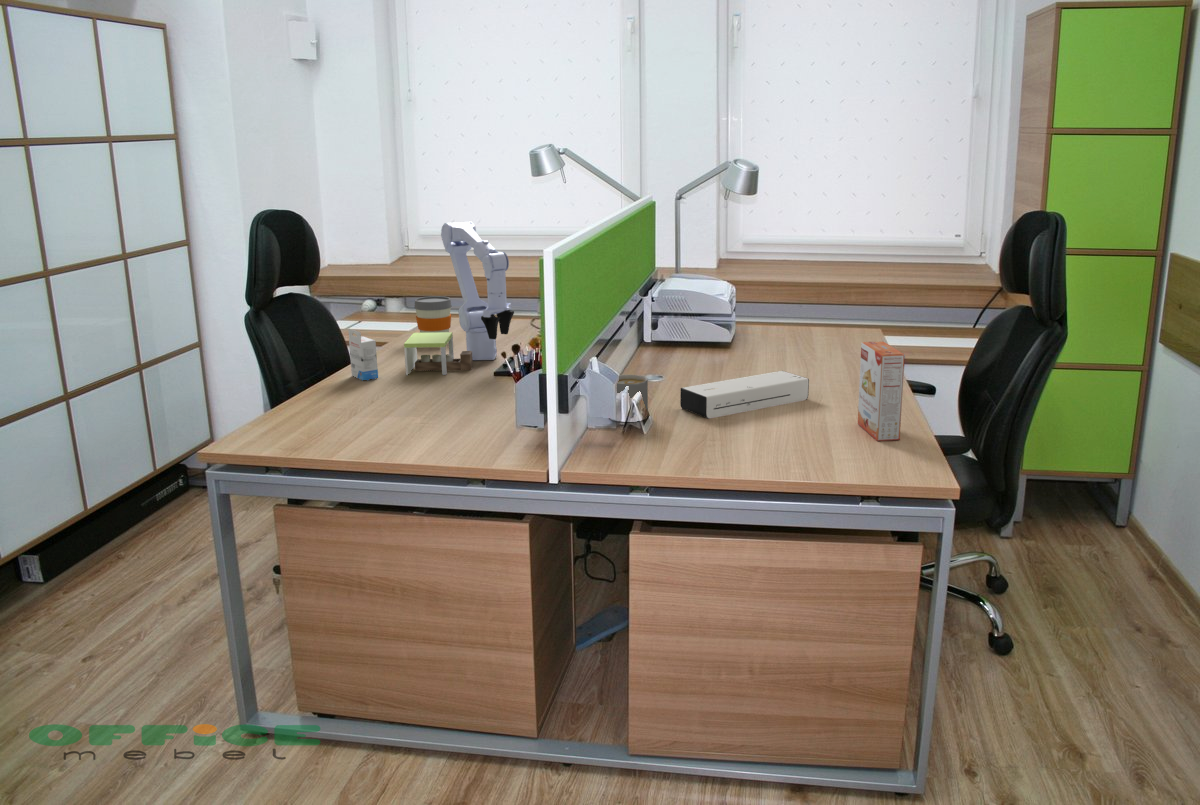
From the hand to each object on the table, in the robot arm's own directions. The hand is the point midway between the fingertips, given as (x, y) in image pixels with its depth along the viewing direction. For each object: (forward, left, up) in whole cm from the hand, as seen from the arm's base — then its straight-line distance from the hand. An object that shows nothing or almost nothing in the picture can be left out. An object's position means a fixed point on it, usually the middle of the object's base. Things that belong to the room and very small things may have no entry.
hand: (498, 336), depth 312 cm
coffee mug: (-37, +58, -10) cm, 69 cm away
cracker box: (-98, +73, -10) cm, 123 cm away
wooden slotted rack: (+17, +2, -10) cm, 20 cm away
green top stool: (+21, +2, -9) cm, 23 cm away
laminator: (-70, +46, -10) cm, 84 cm away
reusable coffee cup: (+26, -37, -10) cm, 46 cm away
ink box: (+39, +12, -10) cm, 42 cm away
